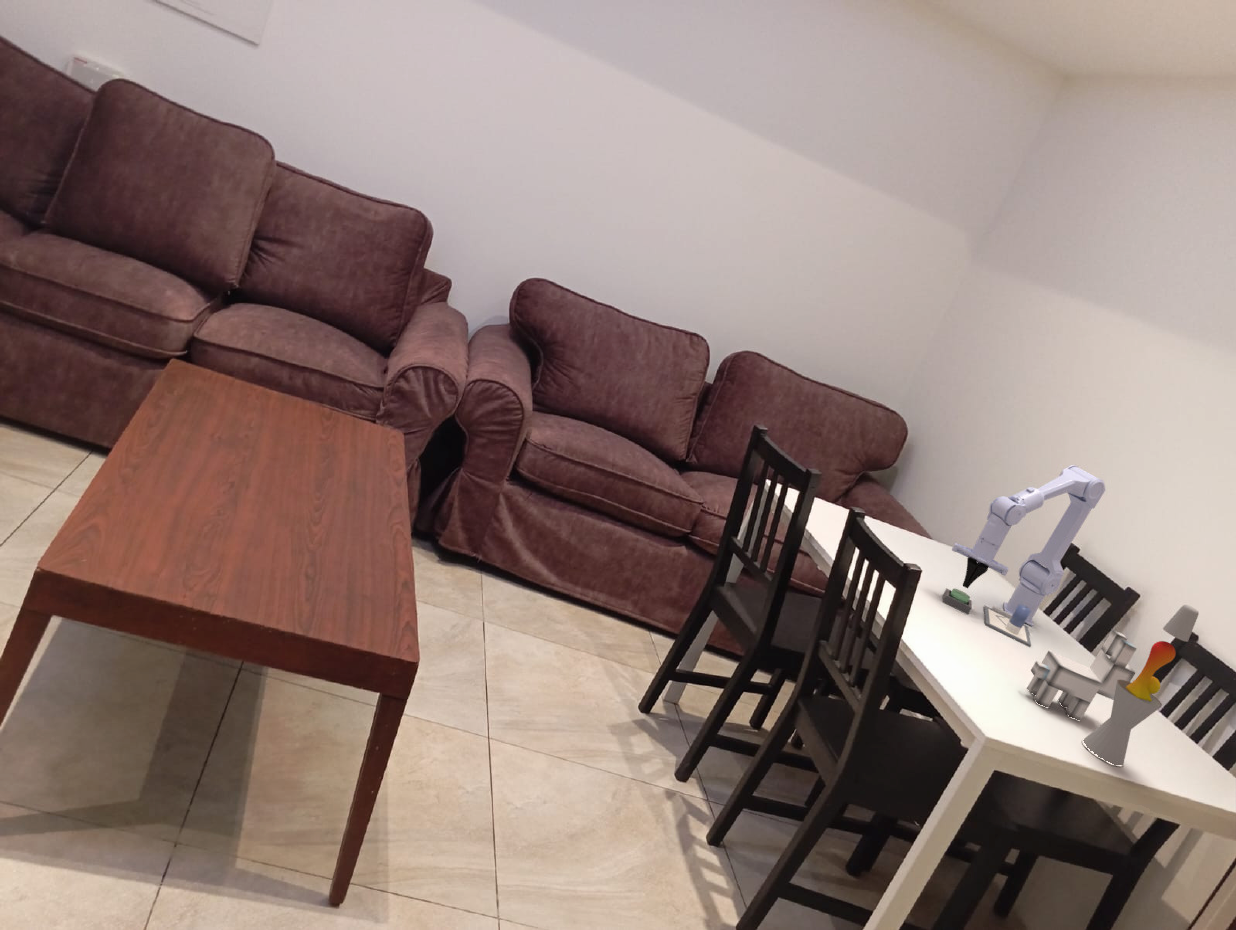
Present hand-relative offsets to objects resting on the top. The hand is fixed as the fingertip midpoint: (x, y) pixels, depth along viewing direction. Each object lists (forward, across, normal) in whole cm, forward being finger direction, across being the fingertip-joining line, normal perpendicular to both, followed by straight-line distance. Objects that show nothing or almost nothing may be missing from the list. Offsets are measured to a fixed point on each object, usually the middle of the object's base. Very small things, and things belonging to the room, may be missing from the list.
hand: (965, 586), depth 268 cm
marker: (+5, +15, -2) cm, 16 cm away
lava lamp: (+6, +32, -56) cm, 64 cm away
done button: (+4, 0, 0) cm, 4 cm away
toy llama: (+6, +24, -40) cm, 47 cm away
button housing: (+6, 0, 0) cm, 6 cm away
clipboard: (+6, +14, +2) cm, 15 cm away
